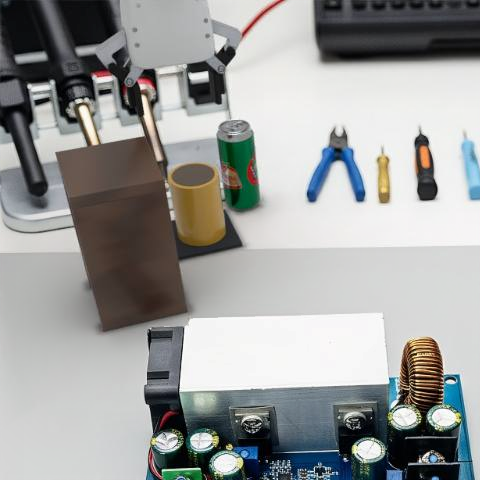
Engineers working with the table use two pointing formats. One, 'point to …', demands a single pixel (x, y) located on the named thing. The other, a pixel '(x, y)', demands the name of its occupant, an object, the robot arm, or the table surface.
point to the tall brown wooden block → (124, 231)
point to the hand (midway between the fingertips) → (178, 105)
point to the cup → (197, 203)
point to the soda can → (238, 164)
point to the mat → (225, 243)
